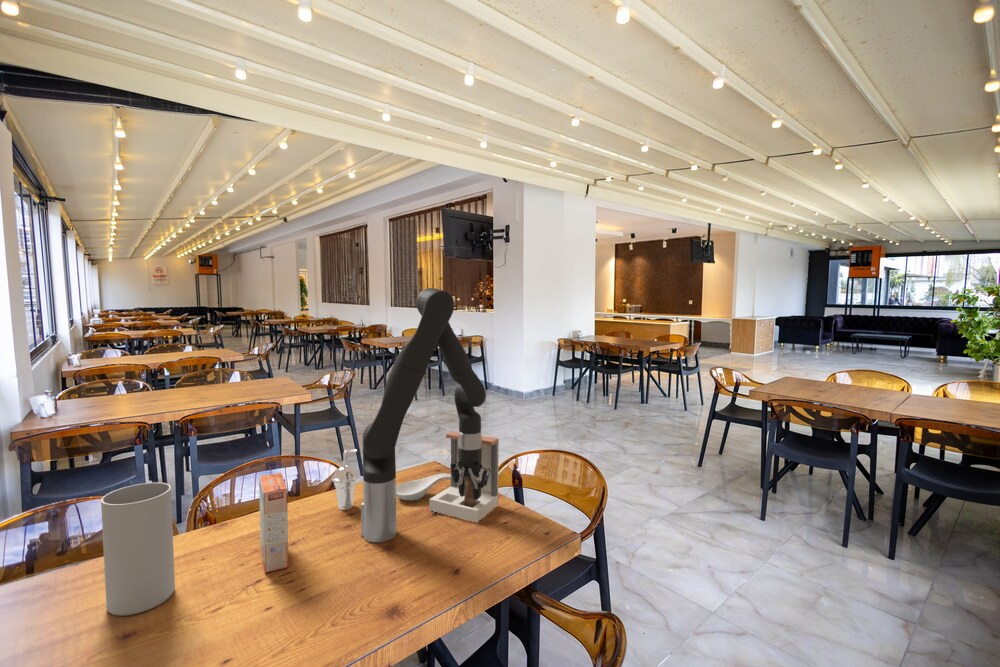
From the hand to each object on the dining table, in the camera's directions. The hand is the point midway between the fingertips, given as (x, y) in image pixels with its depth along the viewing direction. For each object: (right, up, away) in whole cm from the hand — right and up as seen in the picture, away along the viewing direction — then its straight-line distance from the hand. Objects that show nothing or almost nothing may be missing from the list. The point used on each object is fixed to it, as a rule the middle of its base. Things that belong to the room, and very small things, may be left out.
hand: (469, 497), depth 153 cm
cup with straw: (-41, -5, +5) cm, 42 cm away
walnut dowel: (0, -6, 0) cm, 6 cm away
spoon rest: (-16, -5, +16) cm, 23 cm away
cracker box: (-50, -8, -26) cm, 57 cm away
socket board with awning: (-2, -6, +5) cm, 8 cm away
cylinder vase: (-72, -9, -44) cm, 85 cm away
